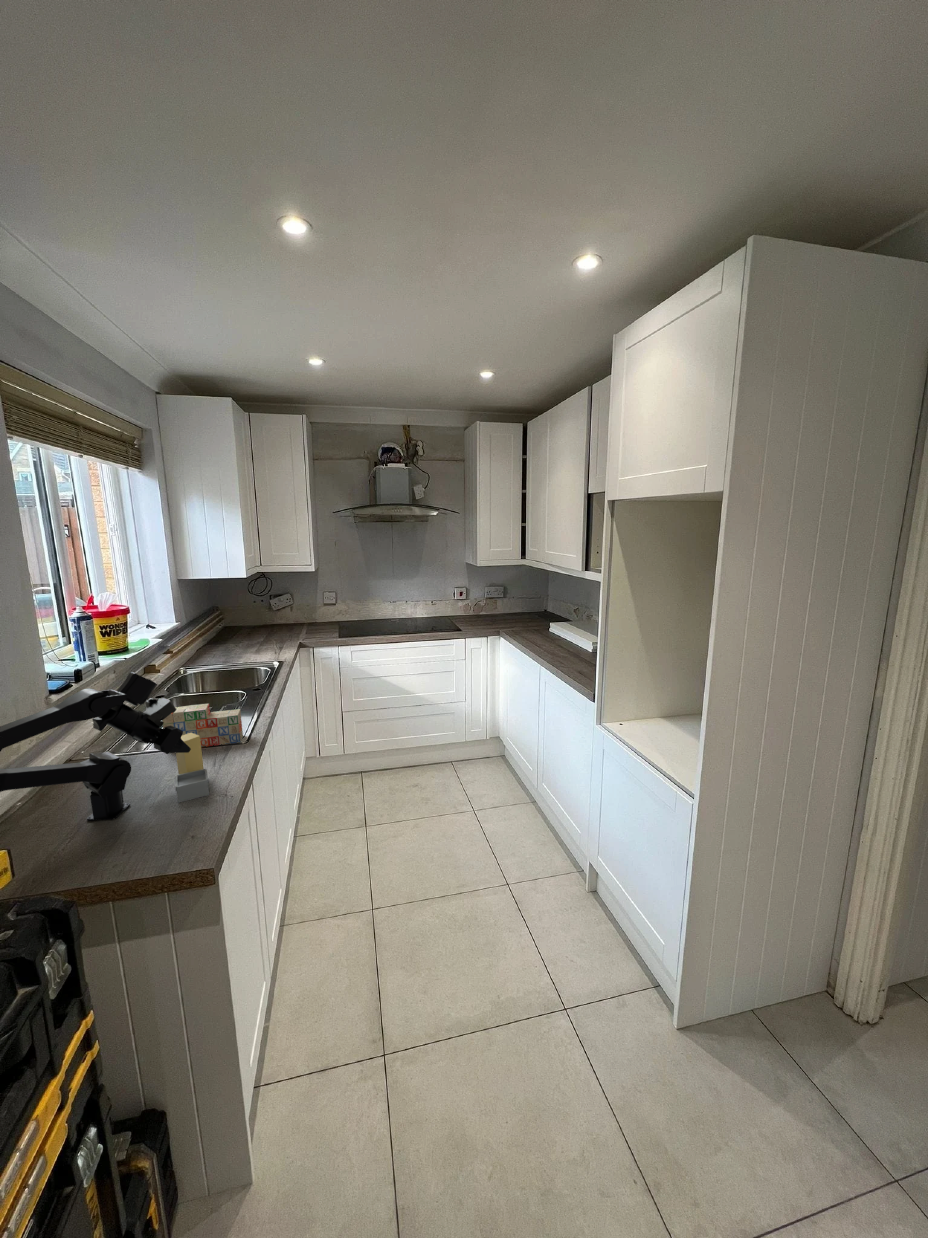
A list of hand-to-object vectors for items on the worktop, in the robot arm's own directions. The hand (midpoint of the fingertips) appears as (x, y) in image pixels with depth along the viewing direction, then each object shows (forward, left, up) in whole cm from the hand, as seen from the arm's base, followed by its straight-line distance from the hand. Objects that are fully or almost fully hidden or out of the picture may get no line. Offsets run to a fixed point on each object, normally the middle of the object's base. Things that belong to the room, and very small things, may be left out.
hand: (180, 746), depth 133 cm
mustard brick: (+2, -1, -10) cm, 10 cm away
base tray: (-6, -5, -10) cm, 13 cm away
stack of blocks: (+26, +5, -10) cm, 28 cm away
